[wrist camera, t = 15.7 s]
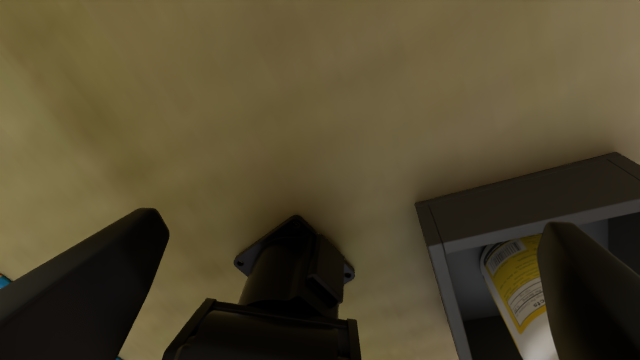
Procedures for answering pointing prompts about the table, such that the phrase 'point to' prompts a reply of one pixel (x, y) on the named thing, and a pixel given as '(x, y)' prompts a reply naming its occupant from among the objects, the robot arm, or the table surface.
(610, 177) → the bin
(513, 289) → the supplement bottle
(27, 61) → the table surface
